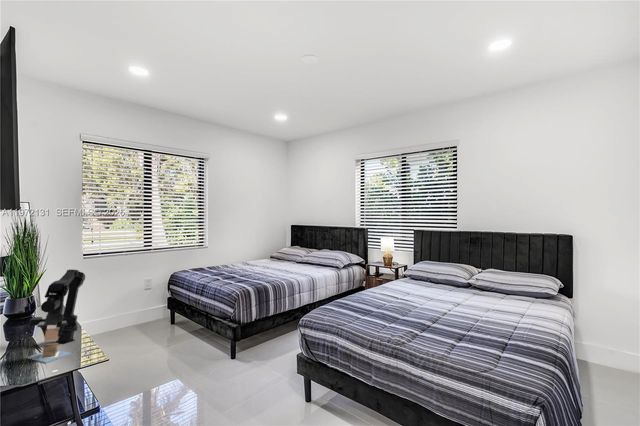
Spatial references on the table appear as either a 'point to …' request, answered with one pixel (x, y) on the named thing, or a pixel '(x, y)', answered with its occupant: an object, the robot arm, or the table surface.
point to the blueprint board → (48, 359)
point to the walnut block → (50, 350)
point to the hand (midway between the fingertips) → (52, 336)
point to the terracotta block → (51, 334)
